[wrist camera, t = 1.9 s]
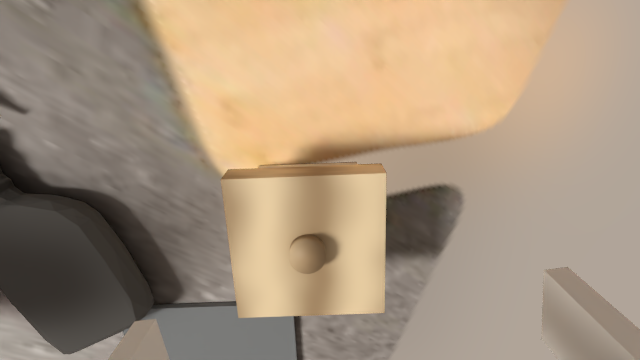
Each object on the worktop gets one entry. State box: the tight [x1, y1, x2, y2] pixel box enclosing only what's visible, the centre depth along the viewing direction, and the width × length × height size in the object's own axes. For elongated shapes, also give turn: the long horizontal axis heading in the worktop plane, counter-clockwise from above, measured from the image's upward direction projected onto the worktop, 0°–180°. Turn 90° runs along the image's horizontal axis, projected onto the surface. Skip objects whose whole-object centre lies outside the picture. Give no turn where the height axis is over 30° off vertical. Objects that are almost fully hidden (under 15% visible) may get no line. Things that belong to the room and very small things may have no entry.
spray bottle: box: [0, 115, 154, 354], centre depth 31 cm, size 3×11×24 cm
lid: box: [221, 164, 386, 318], centre depth 27 cm, size 10×10×3 cm
